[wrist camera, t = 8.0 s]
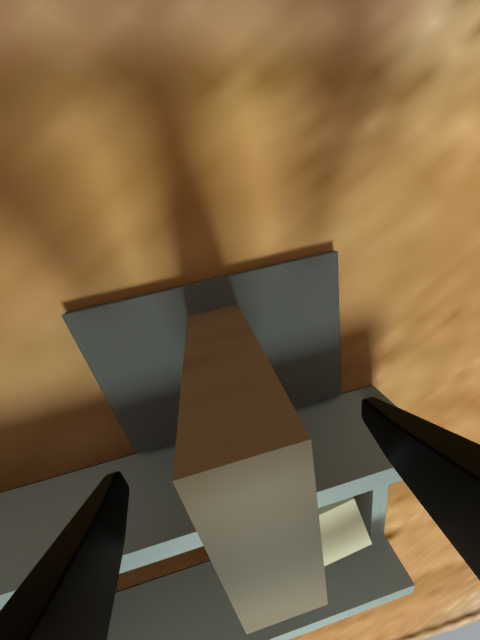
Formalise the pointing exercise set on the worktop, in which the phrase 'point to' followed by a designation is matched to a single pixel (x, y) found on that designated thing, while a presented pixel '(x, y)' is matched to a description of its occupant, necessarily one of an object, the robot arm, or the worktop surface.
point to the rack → (181, 536)
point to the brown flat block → (247, 473)
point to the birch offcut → (341, 530)
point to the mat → (170, 331)
